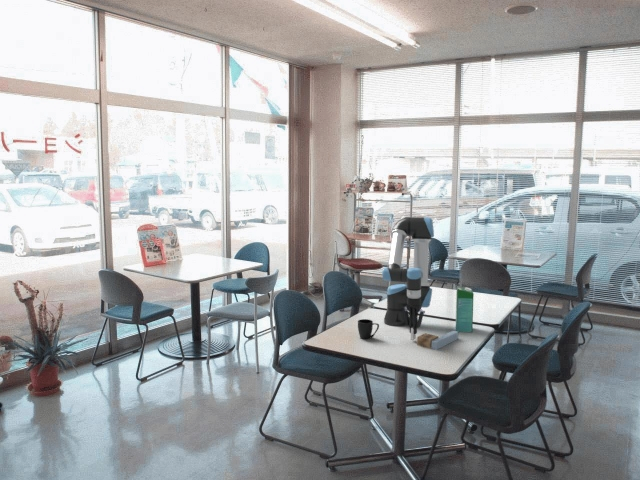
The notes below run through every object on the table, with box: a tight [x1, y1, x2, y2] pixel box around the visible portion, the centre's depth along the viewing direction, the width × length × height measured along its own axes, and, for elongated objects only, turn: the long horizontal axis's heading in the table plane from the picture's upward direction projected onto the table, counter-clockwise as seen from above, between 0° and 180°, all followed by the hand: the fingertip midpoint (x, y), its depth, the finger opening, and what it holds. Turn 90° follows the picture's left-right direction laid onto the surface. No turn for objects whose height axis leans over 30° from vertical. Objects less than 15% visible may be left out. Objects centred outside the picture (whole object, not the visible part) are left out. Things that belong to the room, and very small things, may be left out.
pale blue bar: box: [431, 330, 459, 351], centre depth 290 cm, size 3×24×4 cm, turn 139°
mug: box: [357, 318, 380, 340], centre depth 300 cm, size 8×12×10 cm
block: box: [416, 333, 440, 349], centre depth 288 cm, size 8×8×5 cm
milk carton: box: [455, 285, 475, 333], centre depth 314 cm, size 9×9×25 cm
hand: (413, 339), depth 294 cm, fingers closed
